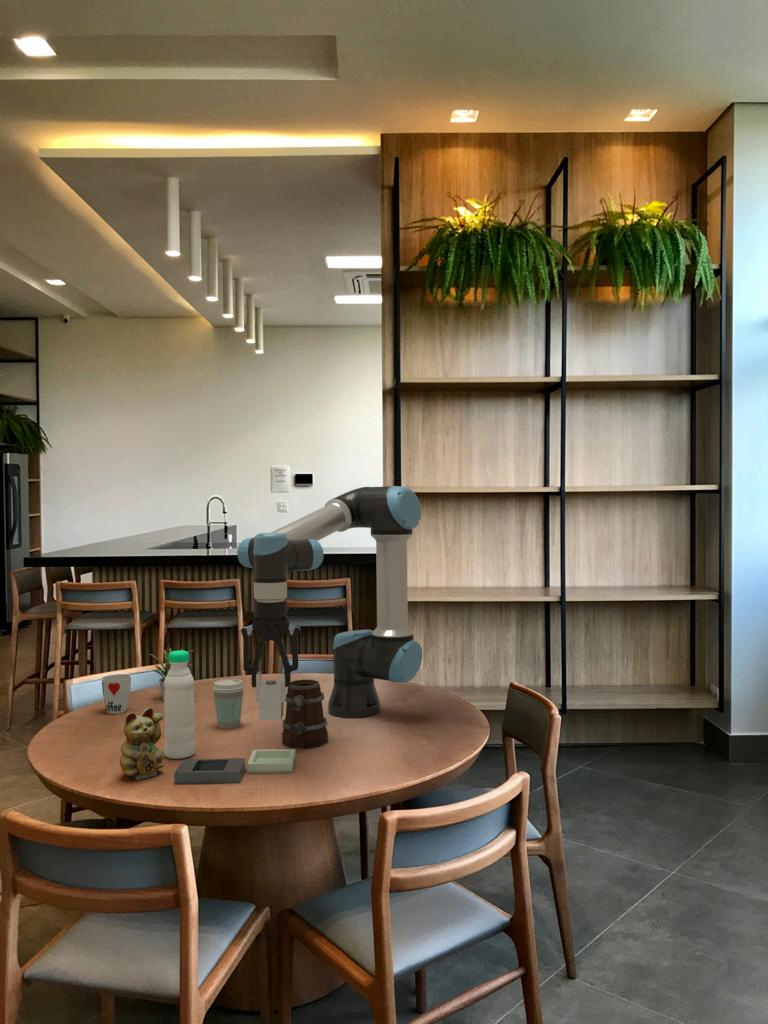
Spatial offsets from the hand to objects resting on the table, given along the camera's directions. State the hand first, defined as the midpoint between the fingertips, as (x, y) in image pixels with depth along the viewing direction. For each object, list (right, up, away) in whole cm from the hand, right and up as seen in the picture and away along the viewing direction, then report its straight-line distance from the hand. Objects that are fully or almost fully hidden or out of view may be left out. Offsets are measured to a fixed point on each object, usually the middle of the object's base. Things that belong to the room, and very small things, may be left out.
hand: (271, 700), depth 183 cm
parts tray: (0, -15, 0) cm, 15 cm away
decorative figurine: (-29, -16, -5) cm, 33 cm away
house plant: (-38, -14, +62) cm, 74 cm away
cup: (-52, -15, +48) cm, 72 cm away
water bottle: (-23, -15, +8) cm, 29 cm away
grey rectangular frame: (-13, -15, -6) cm, 21 cm away
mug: (+5, -15, +17) cm, 23 cm away
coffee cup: (-16, -15, +33) cm, 39 cm away
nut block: (0, -4, 0) cm, 4 cm away
